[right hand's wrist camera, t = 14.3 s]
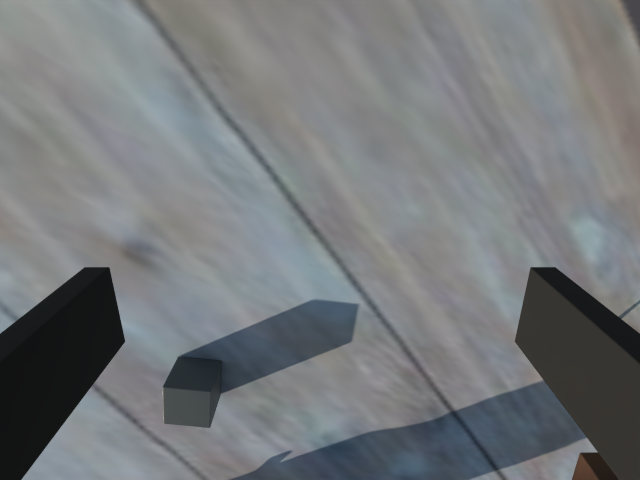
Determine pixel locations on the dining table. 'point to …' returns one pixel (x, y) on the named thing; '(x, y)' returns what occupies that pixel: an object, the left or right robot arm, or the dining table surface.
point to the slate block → (192, 392)
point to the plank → (592, 468)
